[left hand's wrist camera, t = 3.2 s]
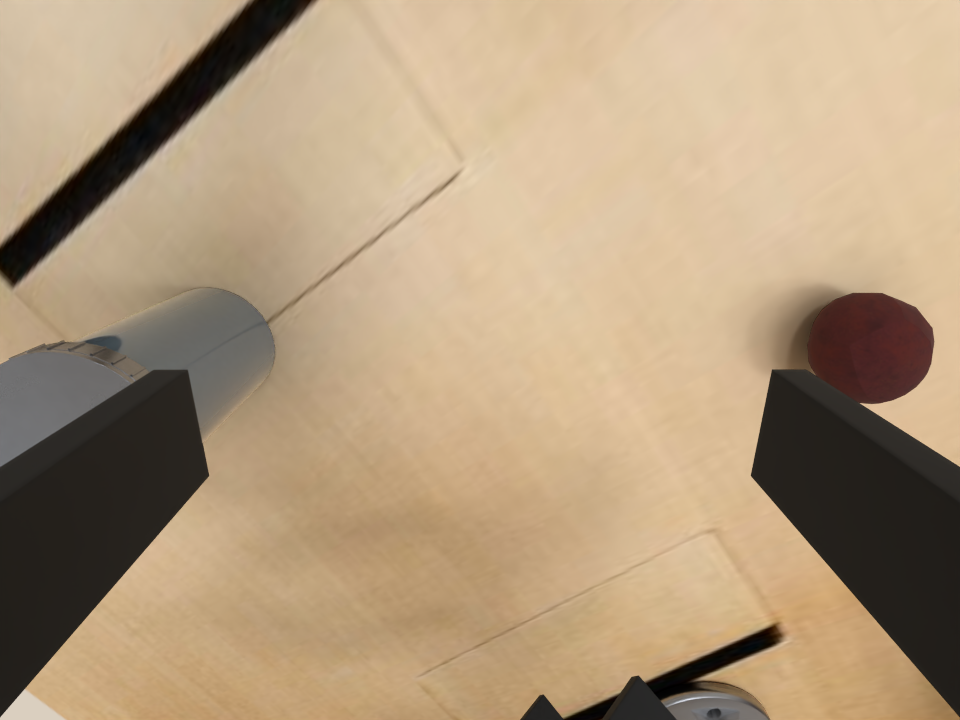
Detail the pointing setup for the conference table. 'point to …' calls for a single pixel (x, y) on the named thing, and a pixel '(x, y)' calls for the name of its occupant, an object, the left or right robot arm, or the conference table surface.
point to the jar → (199, 347)
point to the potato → (871, 347)
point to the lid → (56, 390)
